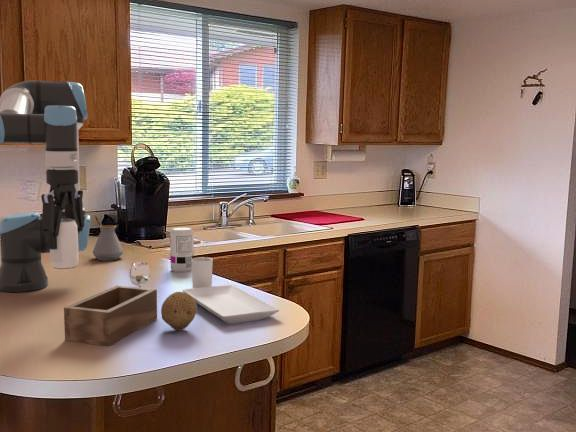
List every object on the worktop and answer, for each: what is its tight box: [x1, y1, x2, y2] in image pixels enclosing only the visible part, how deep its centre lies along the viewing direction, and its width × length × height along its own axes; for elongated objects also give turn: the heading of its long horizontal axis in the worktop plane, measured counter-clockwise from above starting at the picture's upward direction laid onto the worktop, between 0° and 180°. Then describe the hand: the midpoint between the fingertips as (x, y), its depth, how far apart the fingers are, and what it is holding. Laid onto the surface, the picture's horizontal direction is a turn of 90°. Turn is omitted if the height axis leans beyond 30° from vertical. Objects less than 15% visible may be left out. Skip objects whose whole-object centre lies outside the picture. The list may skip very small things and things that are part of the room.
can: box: [50, 219, 79, 270], centre depth 159 cm, size 6×6×12 cm
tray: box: [182, 284, 280, 325], centre depth 177 cm, size 17×31×4 cm, turn 29°
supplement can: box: [169, 226, 195, 273], centre depth 226 cm, size 8×8×15 cm
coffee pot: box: [92, 215, 124, 262], centre depth 247 cm, size 21×12×15 cm, turn 33°
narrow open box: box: [63, 285, 158, 347], centre depth 158 cm, size 12×23×8 cm, turn 164°
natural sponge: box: [160, 291, 198, 332], centre depth 157 cm, size 9×9×10 cm
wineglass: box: [128, 261, 151, 288], centre depth 180 cm, size 6×6×12 cm
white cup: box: [191, 256, 214, 289], centre depth 197 cm, size 7×7×10 cm
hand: (64, 258), depth 160 cm, fingers closed on can, 6 cm apart
